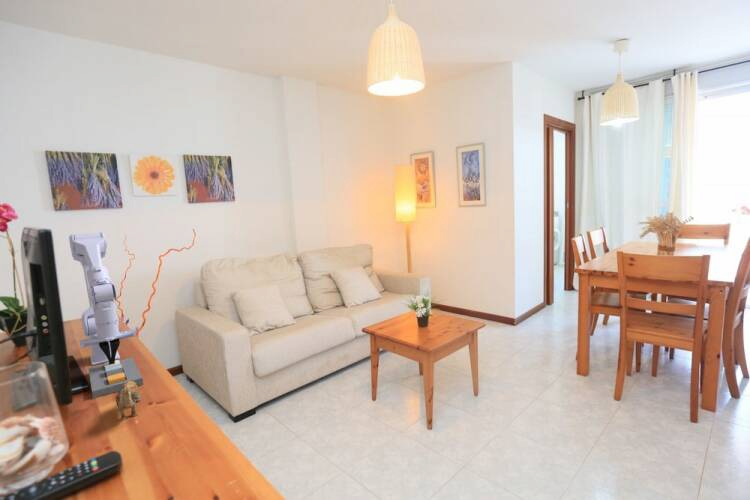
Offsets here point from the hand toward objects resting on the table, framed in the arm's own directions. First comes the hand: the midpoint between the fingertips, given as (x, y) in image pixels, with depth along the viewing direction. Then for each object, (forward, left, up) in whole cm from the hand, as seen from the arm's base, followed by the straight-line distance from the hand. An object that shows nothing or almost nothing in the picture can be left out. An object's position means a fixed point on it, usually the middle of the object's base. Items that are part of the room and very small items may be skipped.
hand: (112, 363), depth 123 cm
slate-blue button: (+6, 0, -2) cm, 7 cm away
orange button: (+13, 0, -2) cm, 13 cm away
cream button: (0, 0, -2) cm, 2 cm away
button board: (+6, 0, -3) cm, 7 cm away
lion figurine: (+33, +1, -3) cm, 33 cm away
